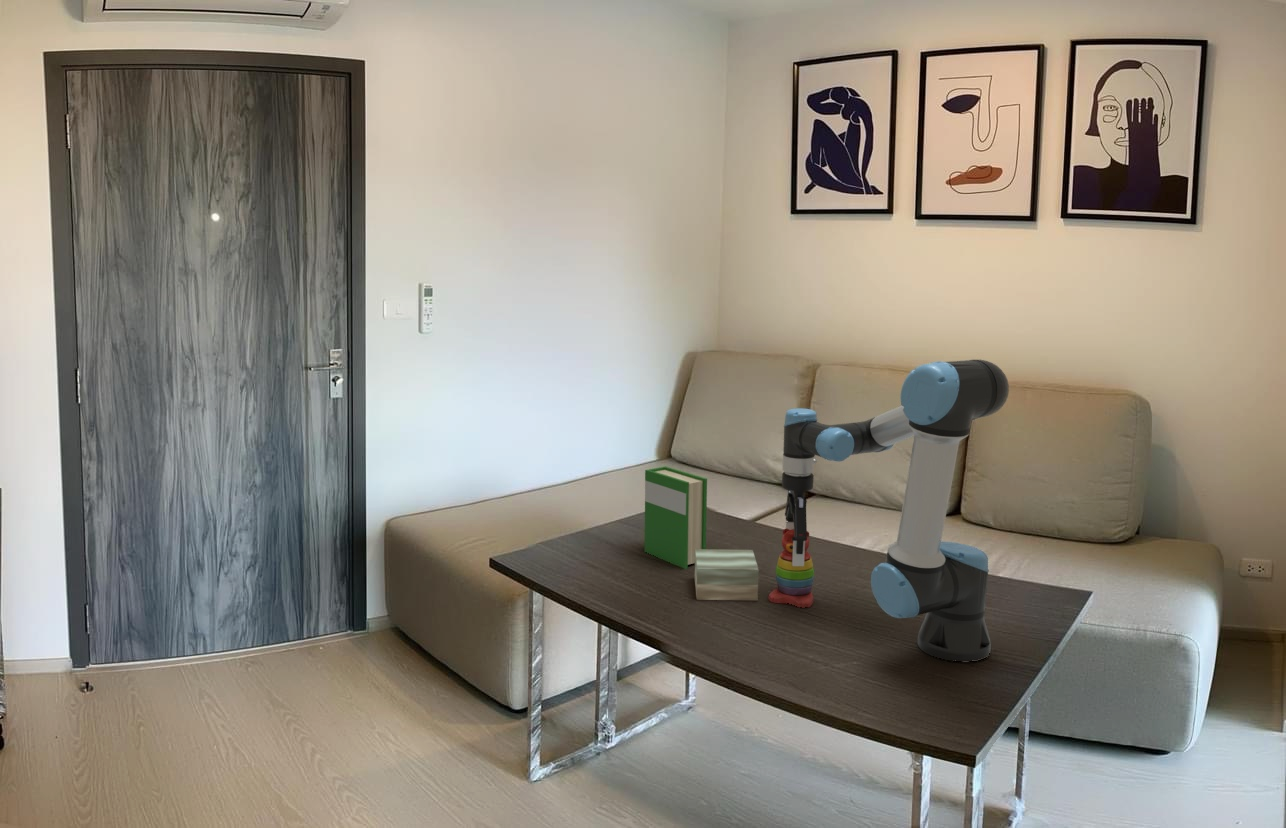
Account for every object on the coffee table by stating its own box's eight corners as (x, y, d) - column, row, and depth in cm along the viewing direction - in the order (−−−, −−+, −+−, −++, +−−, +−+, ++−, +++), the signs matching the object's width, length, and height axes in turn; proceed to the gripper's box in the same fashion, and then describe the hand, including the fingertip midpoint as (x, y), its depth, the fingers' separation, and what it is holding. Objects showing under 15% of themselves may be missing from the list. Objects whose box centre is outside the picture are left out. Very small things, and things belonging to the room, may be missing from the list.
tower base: (757, 600, 233) (758, 569, 232) (696, 599, 233) (697, 568, 232) (751, 579, 248) (752, 549, 247) (694, 578, 248) (695, 549, 247)
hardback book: (705, 563, 260) (707, 478, 256) (684, 569, 255) (686, 482, 251) (664, 547, 274) (665, 466, 269) (644, 552, 269) (645, 470, 265)
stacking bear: (765, 601, 233) (767, 532, 229) (779, 588, 241) (781, 521, 238) (807, 609, 228) (810, 538, 224) (820, 596, 236) (823, 527, 233)
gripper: (822, 486, 216) (817, 574, 221) (805, 460, 241) (801, 539, 245) (789, 485, 217) (785, 573, 221) (776, 459, 241) (772, 539, 245)
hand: (794, 556), depth 233 cm, fingers open, 13 cm apart
